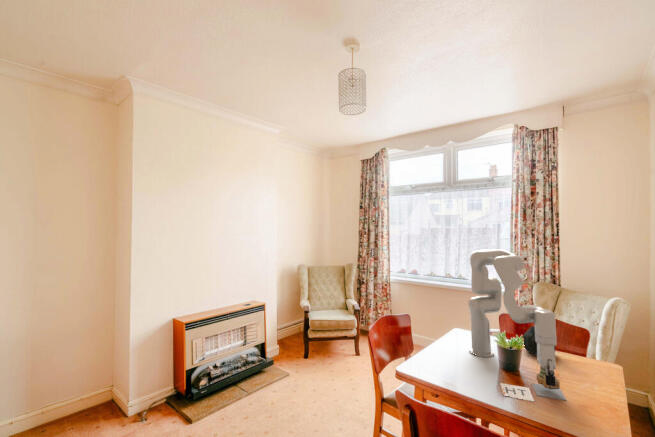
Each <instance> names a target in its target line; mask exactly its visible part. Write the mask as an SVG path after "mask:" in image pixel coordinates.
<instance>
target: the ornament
mask: <svg viewBox="0 0 655 437" xmlns="http://www.w3.org/2000/svg"><path fill="white" fill-rule="evenodd" d="M547 367H548V366H547ZM541 368H542V367H541ZM548 368H549V367H548ZM548 371H549V370H548ZM545 375H546V370H545V368H542V369H539V372H538V373H537V374H536V381H537V383H538V384H540V385H543V386H544V387H545V388H548V389H559V388H560V387H561V384H560V383H561V382H560V380H558V378H557V377H556V376H555V386H551V385H546V377H545ZM560 389H561V388H560Z"/></svg>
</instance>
